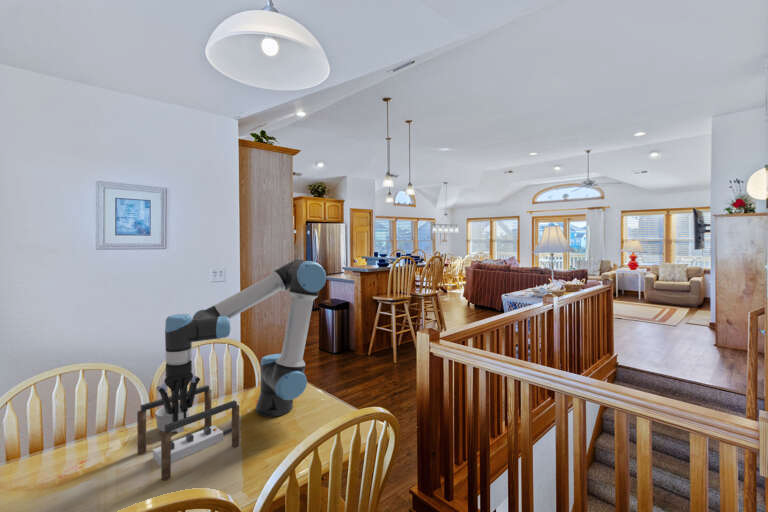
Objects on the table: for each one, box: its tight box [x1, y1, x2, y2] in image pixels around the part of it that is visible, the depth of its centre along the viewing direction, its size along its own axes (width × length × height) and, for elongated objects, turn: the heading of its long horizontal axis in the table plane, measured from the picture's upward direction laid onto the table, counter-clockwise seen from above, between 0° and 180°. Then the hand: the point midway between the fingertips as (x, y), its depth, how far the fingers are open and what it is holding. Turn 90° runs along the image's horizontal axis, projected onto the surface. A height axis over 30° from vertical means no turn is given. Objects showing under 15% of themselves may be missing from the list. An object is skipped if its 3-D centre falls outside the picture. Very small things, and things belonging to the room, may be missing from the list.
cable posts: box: [136, 388, 240, 482], centre depth 121 cm, size 24×22×14 cm
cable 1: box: [140, 384, 210, 411], centre depth 127 cm, size 22×2×2 cm, turn 142°
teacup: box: [154, 402, 190, 434], centre depth 135 cm, size 14×11×8 cm
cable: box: [165, 399, 238, 432], centre depth 114 cm, size 22×2×2 cm, turn 142°
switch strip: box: [152, 425, 232, 468], centre depth 123 cm, size 26×7×5 cm, turn 142°
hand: (179, 430), depth 118 cm, fingers closed
